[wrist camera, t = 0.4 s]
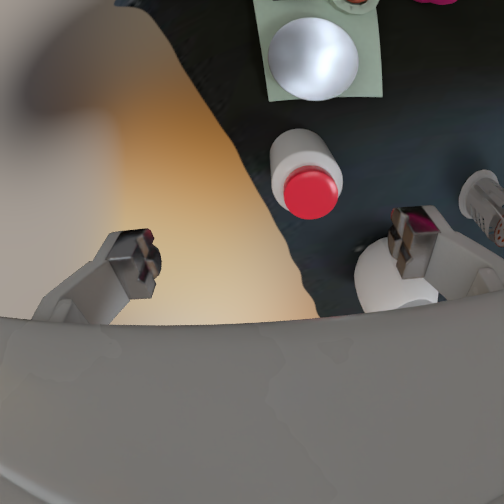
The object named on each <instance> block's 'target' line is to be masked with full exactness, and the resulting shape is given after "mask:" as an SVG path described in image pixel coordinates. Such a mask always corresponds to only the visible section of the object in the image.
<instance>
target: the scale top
mask: <svg viewBox="0 0 504 504" xmlns="http://www.w3.org/2000/svg"><path fill="white" fill-rule="evenodd" d="M273 1H279V0H273ZM268 64H269V68H270V71H271V73H272V75H273V77H274V79H275V80H276V82H277V83H278V84H279V85H280V86H281V87H282V88H283V89H284V90H285V91H287V92H288V93H290V94H292V95H294V96H296V97H298V98H301V99H305V100H310V101H322V100H328V99H331V98H334V97H336V96H338V95H340V94H341V93H343V92H344V91H345V90H346V89H348V88H349V86H350V85H351V84H352V82H353V81H354V79H355V77H356V75H357V71H358V66H359V57H358V52H357V49H356V46H355V44H354V42H353V40H352V39H351V37H350V36H349V35H348V34H347V33H346V32H345V31H344V30H343V29H342V28H341V27H339V26H338V25H336V24H335V23H333V22H331V21H328V20H325V19H322V18H316V17H306V18H300V19H296V20H293V21H291V22H289V23H287V24H285V25H284V26H283V27H281V28H280V29H279V30H278V31H277V32H276V34H275V35H274V36H273V38H272V40H271V42H270V45H269V49H268Z"/></svg>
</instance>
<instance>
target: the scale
mask: <svg viewBox="0 0 504 504" xmlns="http://www.w3.org/2000/svg"><path fill="white" fill-rule="evenodd" d="M378 2H379V0H365V1H363V2H360V3H352V2H349V1H347V0H279V1H273V0H253V3H254V9H255V14H256V20H257V26H258V32H259V38H260V45H261V51H262V58H263V64H264V71H265V78H266V84H267V92H268V99H269V102H271V101H280V100H292V99H301V98H298V97H296V96H294V95H292V94H290V93H288V92H287V91H285V90H284V89H283V88H282V87H281V86H280V85H279V84H278V83H277V82H276V80H275V79H274V77H273V75H272V73H271V71H270V68H269V64H268V49H269V45H270V42H271V40H272V38H273V36H274V35H275V34H276V32H277V31H278V30H279V29H280V28H281V27H283V26H284V25H285V24H287V23H289V22H291V21H293V20H296V19H300V18H306V17H316V18H322V19H325V20H328V21H331V22H333V23H335V24H336V25H338V26H339V27H341V28H342V29H343V30H344V31H345V32H346V33H347V34H348V35H349V36H350V37H351V39H352V40H353V42H354V44H355V46H356V49H357V52H358V57H359V66H358V71H357V75H356V77H355V79H354V81H353V82H352V84H351V85H350V86H349V88H348V89H346V90H345V91H344V92H343V93H341V94H340V95H338V96H336V97H382V70H381V53H380V41H379V30H378V21H377V13H376V5H377V4H378Z"/></svg>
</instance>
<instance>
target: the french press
mask: <svg viewBox="0 0 504 504" xmlns="http://www.w3.org/2000/svg"><path fill="white" fill-rule="evenodd" d="M501 188H502V187H501V186H500V185H499V183H498V180H497V177H496V175H495V174H494V173H493V172H492V171H489V170H485V169H484V170H481V171H477V172H475V173H474V174H473V175H472V176H470V177H469V178H468V179H467V181H466V182H465V184H464V185H463V187H462V190H461V193H460V196H459V208H460V210H461V213H462V214H463V215H464V216H465V217H467V218H470V219H474V221H475V222H476V223H478V226H479V227H480V228H482V231H483V232H485V233H486V236H487V237H488V238H489V239H490V240H491V241H493V242H495V243H496V245H498V246H499V247H504V208H503V209H502V205H503V204H504V189H501ZM501 190H503V191H501ZM482 218H484V220H482ZM475 219H477V221H476V220H475ZM479 219H480V221H479ZM480 223H481V225H479V224H480ZM483 223H484V225H483ZM491 226H492V227H493V228H492V229H489V227H491ZM483 228H485V230H483ZM492 231H495V233H494V234H490V235H488V232H492Z"/></svg>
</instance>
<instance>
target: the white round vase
mask: <svg viewBox="0 0 504 504" xmlns="http://www.w3.org/2000/svg"><path fill="white" fill-rule="evenodd" d="M396 263H397V260H396V259H394V258H393V257H392V256H391V254H390V252H389V248H388V237H385V238H381V239H379V240H377V241H376V242H374V243H373V244H371V245H369V246H368V247H367V248H366V249H365V250H364V252H363V253H362V254H361V255H360V256H359V259H358V262H357V264H356V267H355V273H354V279H355V287H356V291H357V295H358V298H359V301H360V303H361V306H362V308H363V310H364V312H365V313H370V312H378V311H386V310H393V309H400V308H407V307H413V306H420V305H426V304H432V303H437V300H438V291H437V290H436V289H435V288H434V287H433V286H432V285H431V284H429V283H428V282H427V281H426V280H425V279H424V278H415V279H404V280H402V278H401V276H400V274H399V271H398V269H397V267H396Z"/></svg>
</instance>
